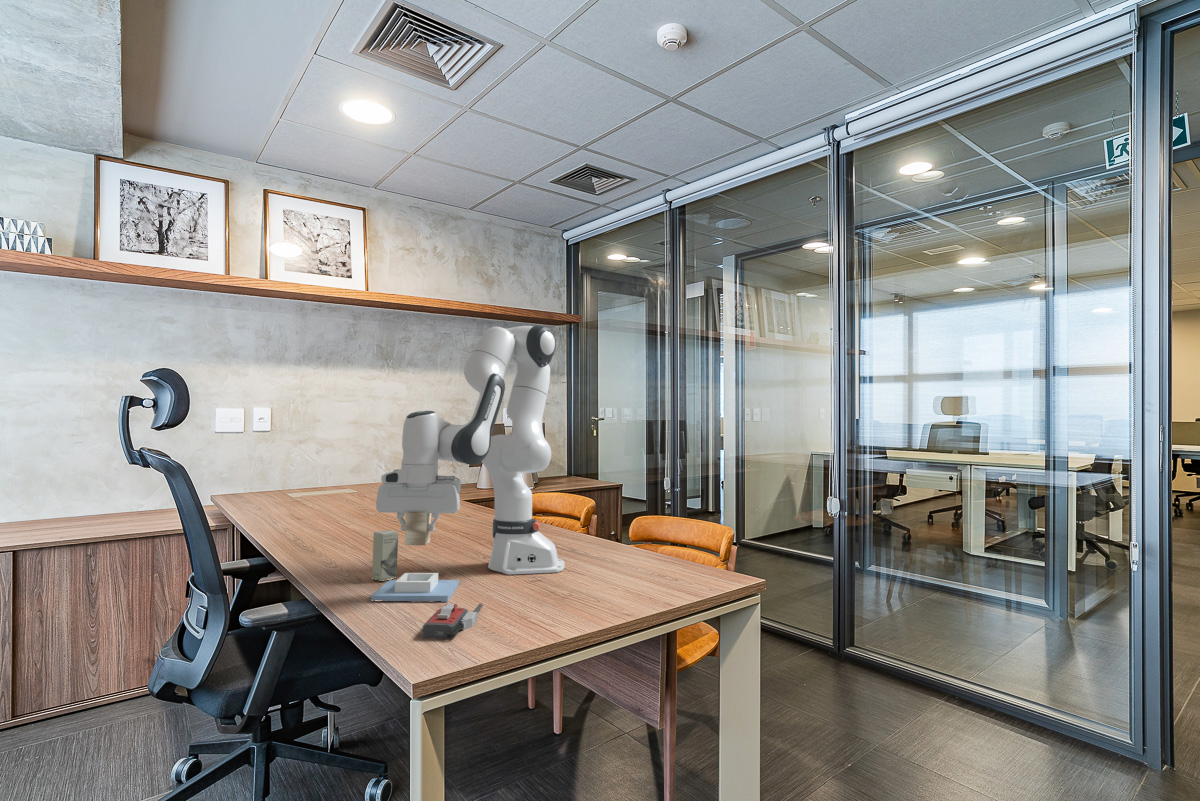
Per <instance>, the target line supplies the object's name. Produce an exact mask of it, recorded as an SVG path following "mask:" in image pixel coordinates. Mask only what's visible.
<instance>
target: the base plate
mask: <svg viewBox="0 0 1200 801" xmlns="http://www.w3.org/2000/svg"><path fill="white" fill-rule="evenodd" d="M459 583H460V580H459V579H439V572H405V573H403V574H402V575H401V576H400V577H399V578H397V579H393V580H389V581H385V583H384V584H383V585H382V586H380V587H379V588H378V589H377V590H375V592H373V593H372V595H371V596H370V602H371V601H372V600H373V601H375V600H382V601H441V602H440V603H448V602H449V601H450V599H451V598H452V596H453V595H454V593H455V592H456V591H457V589H458V588H457V586H458V585H459V586H460V584H459ZM459 586H458V587H459ZM456 588H457V589H456ZM454 591H455V592H454ZM452 594H453V595H452ZM450 597H451V598H450ZM448 600H449V601H448Z"/></svg>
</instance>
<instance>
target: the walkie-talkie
mask: <svg viewBox="0 0 1200 801" xmlns="http://www.w3.org/2000/svg"><path fill="white" fill-rule="evenodd" d="M483 606H484V605H483V603H481V602H480V603H479V604H477V605H476V608H475V609H474V610H473V611H468V609H466V608H464V607H458V604H457V603H446V604H445V605H444V606H443V607H441V608H438V609H437V610H436V612H435V613H434V614H433V615H432V616H430V618H428V619H427V621H426V622H425V623H424V624H423V625H422V638H423V637H424V638H423V639H429V638H437V639H438V640H439V639H440V640H452V639H455V638H456V636H457V635H458V634H459V632H460V631H464V630H468V629H470V628H472V627H473V626H474V625H475V624H476V623H477V622H478V613H479V612H481V609H482V608H483Z"/></svg>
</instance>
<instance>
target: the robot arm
mask: <svg viewBox="0 0 1200 801" xmlns="http://www.w3.org/2000/svg"><path fill="white" fill-rule="evenodd" d="M556 346H557V340H556V337H555V335H554V332H553V331H552V330H551V328H549V327H547V326H544V325H518V326H513V327H508V328H507V327H505V328H504V327H501V326H492V327H489V328H488V329H487V330H485V332H483V334H482V335H481V337H480V338H479V339H478V340H477V342H476V344H475V346H474V347H473V348H472V351H471V352H470V354H469V356H468V358H467V359H466V362H465V365H464V370H463V375H464V379H465V381H466V382H467V384H468V385H469V386H470V387H471V388H473V389H474V390H475V391H476V392H478V393H479V398H478V400H477V403H476V405H475V408H474V412H473V413H472V417H471V419H470V420H469V421H468V422H467V423H465V424H454V423H453V424H451V422H448V421H446V420H444V419H443V418H442V417H440V416H439V415H438V414H437V412H436V411H433V410H422V411H421V410H420V411H414V412H411V413H409V414H408V415H407V416H406V417H405V420H404V422H403V428H402V434H401V435H402V438H401V440H402V441H401V447H402V451H403V456H402V459H401V467H400V468H399V469H398V468H397V469H394V470H393V471H389V472H386V473H384V474H382V475H381V477H380V480H381V483H382V484H381V485H380V486H379V487H378V489H377V492H376V493H377V494H376V501H375V509H376V510H377V512H378V513H392V514H393V513H396V519H397V520H398V521H399V524H400V526H401V527H400V531H402V532H405V519H404V518H405V517H406V512H427V513H431V518H433V519H432V521H431V523H429V524H427V527H428V528H427V531H430V532H434V531H435V529H436V528H435V527H436V523H437V521H438V519H439V518H440V517H441V516H440V514H456V513H457V512H459V510H460V508H461V498H460V492H461V490H462V482H461V480H460V479H459V478H458V477H456V475H455V476H454V475H439V473H438V472H439V470H438V469H439V461H445V462H447V461H448V462H451V463H452V462H453V463H461V464H465V465H469V466H473V465H478V464H480V463H481V464H482V465H483V466H484V467H485V469H486V470H487V472H488V474H489V478H490V480H491V483H492V487H493V492H494V495H493V496H494V517H493V519H492V525H491V526H492V529H491V530H492V533H491V534H492V538H493V539H492V540H493V541H492V547H491V548H492V549H491V554H490V559H489V562H488V565H487V568H488V569H489V570H492V571H495V572H499V573H502V574H505V575H527V574H550V573H559V572H561V571H563V570H564V569H565V561H564V560H563V559H562V558H559V557H558V551H557V547H556V545H555V543H554V542H553V541H552V540H550V539H549V538H548V537H546V536H544V534H543V533H541V532H540V531H539V529H540V526H541V525H540V522H539V520H538V519H535V518H533V492H532V490H531V488H530V487H529V486H528V485H527V483H526V482H525V481H524V479H523V474H533V473H538V472H542V471H544V470H546V469H547V467H549V466H550V463H551V460H552V448H551V446H550V444H549V442H548V441H547V440H546V438H545V435H544V431H543V430H544V429H543V428H544V427H543V418H544V413H545V412H544V411H545V407H546V404H547V399H548V394H549V388H550V383H551V367H550V363H551V361H552V359H553V356H554V355H555V351H556ZM510 363H513V364H516V369H517V371H516V375H515V377H514V380H513V382H512V387H511V391H510V396H509V399H508V402H507V407H506V414H507V417H508V418H509V419H510V420H511V422H512V431H511V432H512V433H511V434H495V435H493V431H494V428H495V424H496V421H497V418H498V414H499V412H500V410H501V409H500V408H501V405H502V403H503V399H504V395H505V391H506V383H505V380H504V379H505V375H506V373H507V371H508V369H509V366H510ZM522 473H523V474H522Z"/></svg>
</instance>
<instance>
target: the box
mask: <svg viewBox="0 0 1200 801" xmlns="http://www.w3.org/2000/svg"><path fill="white" fill-rule="evenodd" d="M372 541H373V545H372V569H371V579H372V578H373V579H376V580H380V581H383V580H387V579H391V578H395V577H398V576H397V574H398V552H399V549H398V548H399V531H396V530H391V529H388V530H380V531H374V532H373V540H372ZM373 579H372V580H373Z"/></svg>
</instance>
